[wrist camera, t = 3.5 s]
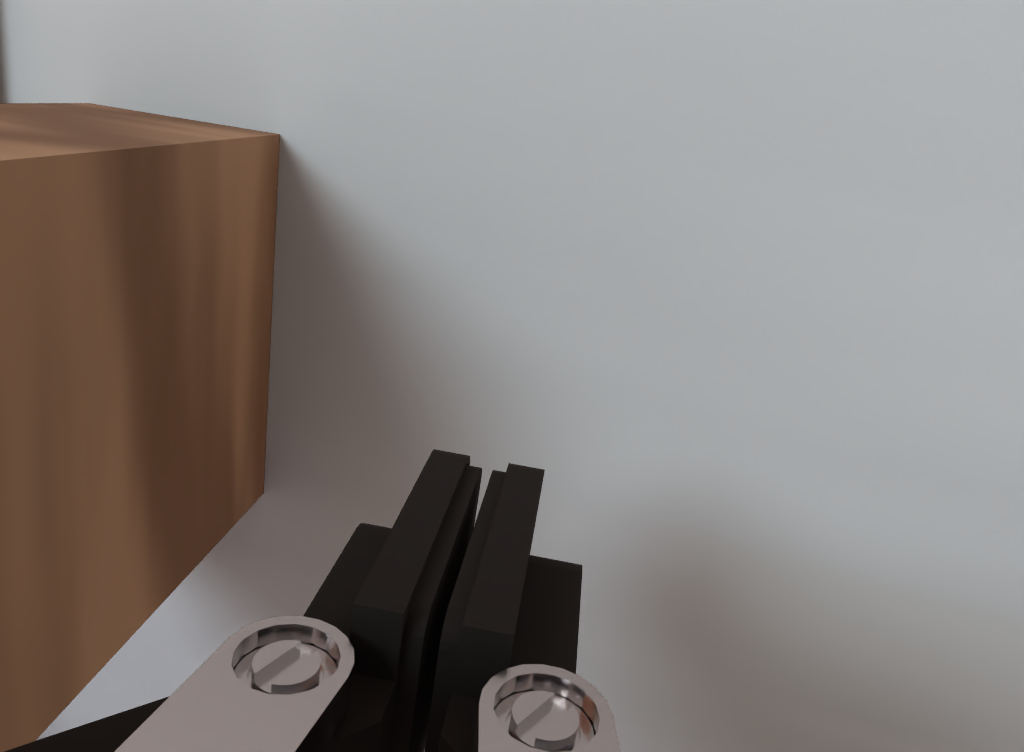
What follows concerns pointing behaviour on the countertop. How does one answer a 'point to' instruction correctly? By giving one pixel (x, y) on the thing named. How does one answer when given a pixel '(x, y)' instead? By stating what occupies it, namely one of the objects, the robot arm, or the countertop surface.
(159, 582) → the slab
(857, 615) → the countertop surface
